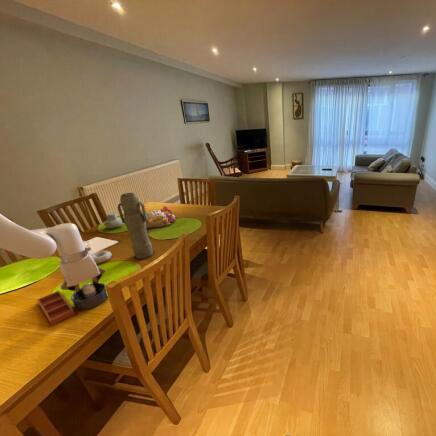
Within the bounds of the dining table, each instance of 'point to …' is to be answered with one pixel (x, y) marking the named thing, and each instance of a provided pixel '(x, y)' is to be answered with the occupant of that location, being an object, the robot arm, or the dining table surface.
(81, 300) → the bowl
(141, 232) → the grey tall piece
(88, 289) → the egg
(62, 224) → the robot arm
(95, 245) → the teacup and saucer
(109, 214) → the air freshener
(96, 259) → the donut
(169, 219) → the candy landscape model
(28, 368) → the dining table surface
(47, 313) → the brown compartment tray
